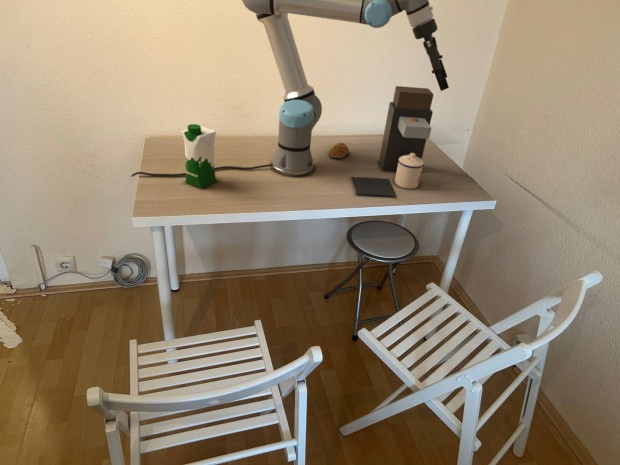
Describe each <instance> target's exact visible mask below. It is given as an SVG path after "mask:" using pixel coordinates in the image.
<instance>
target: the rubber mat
mask: <svg viewBox="0 0 620 465" xmlns="http://www.w3.org/2000/svg"><path fill="white" fill-rule="evenodd" d="M352 181H353V182H352V183H353V184H354V189H355V192H356V196H364V197H381V198H382V197H384V198H395V197H396V196H395V193H394V190H393V188H392V186H391V183H390V181H389V178H380V177H366V176H365V177H363V176H352Z"/></svg>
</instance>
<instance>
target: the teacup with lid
mask: <svg viewBox="0 0 620 465" xmlns="http://www.w3.org/2000/svg"><path fill="white" fill-rule="evenodd" d="M424 166H425V161H424V160H423V158H422V159H420V158H418V157H416V155H415V154H414V153H410V155H405V156H401V157H400V158H399V159H398V167H397V172H395V176H394V183H395V184H396V186H398V187H400V188H403V189H407V190H410V189H416V188H418V187H419V184H420V180H421V176H422V171H423V169H424Z"/></svg>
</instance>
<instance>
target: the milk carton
mask: <svg viewBox="0 0 620 465" xmlns="http://www.w3.org/2000/svg"><path fill="white" fill-rule="evenodd" d="M216 134H217V131H216V130H214V129H211V128H208V127H205V126H202V125H200V124H198V123H197V124H196V123H192V124H188V125H187V128H186V129H184V130H181V135H182V136H181V137H182V139H183V142H184V158H185V173H186V175H185V183H186V184H189V185H191V186H194V187H197V188H199V189H205V188H206V187H208V186H210V185H212V184H214V183H216V182H217V181H216V180H217V178H216V170H214V168H215V140H216Z"/></svg>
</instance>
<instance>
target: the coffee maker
mask: <svg viewBox="0 0 620 465" xmlns="http://www.w3.org/2000/svg"><path fill="white" fill-rule="evenodd" d="M433 98H434V93H433V92H432V90H430V88H428V87H414V86H413V87H412V86H401V85H396V86H395V89H394V94H393V99H392V101H389V104H388V109H387V115H386V121H385V127H384V130H383V131H384V132H383V138H382V143H381V149H380V153H379V159H378V164H379V166H380V168H381V171H382V172H390V173H391V172H392V173H396V172H397V167H398V159H399V158H400V157H401V156H405V155H410V153H414V154H415V155H416V157H418V158H420V159H422V160H423V156H424V151H425V147H426V142H427V140H429V139H430V136H431V132H432V126H431V122H432V117H433V113H434V111H433V110H432V109H431V107H432V103H433Z"/></svg>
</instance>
